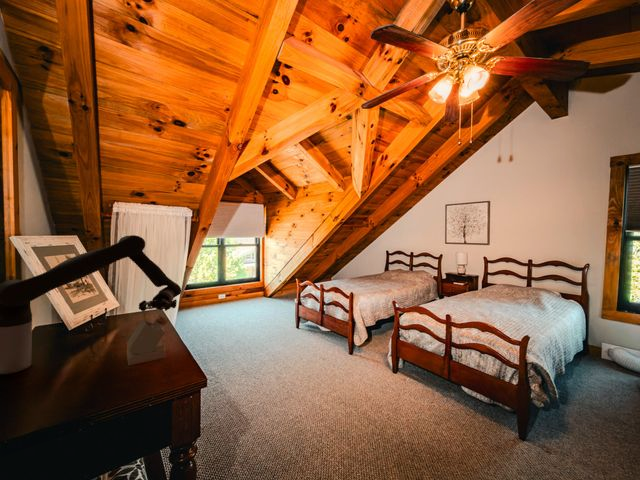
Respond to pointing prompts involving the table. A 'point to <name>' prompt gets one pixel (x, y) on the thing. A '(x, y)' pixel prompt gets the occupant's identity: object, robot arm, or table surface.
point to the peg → (159, 323)
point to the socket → (145, 344)
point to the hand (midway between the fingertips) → (154, 308)
